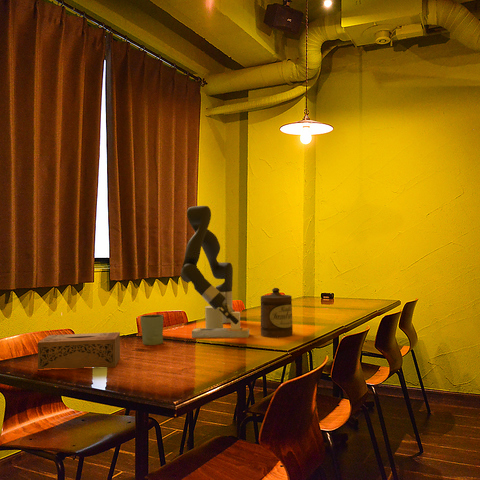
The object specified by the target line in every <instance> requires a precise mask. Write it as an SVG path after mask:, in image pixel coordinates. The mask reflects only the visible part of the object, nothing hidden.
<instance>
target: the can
mask: <svg viewBox="0 0 480 480" xmlns="http://www.w3.org/2000/svg"><path fill="white" fill-rule="evenodd" d="M204 309H205V310H204V311H205V313H204V314H205V315H204V316H205V328H224V323H223V313H222V312H221V311H219V309H220V308H219V307H218V308H217V309H216V310H215V309H214V308H213V307H212V306H211V305H207V306H204Z"/></svg>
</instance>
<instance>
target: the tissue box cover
mask: <svg viewBox="0 0 480 480" xmlns="http://www.w3.org/2000/svg"><path fill="white" fill-rule="evenodd" d="M120 359H121V332H119V331H117V332H95V333H94V332H93V333H90V332H89V333H72V334H68V333H67V334H49V335H47V336H45V337H43V338H42V339H40V340H39V341H38V342H37V370H38V369H44V368H84V367H108V368H116V366H117V365H118V363H119V361H120Z"/></svg>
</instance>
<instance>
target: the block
mask: <svg viewBox="0 0 480 480" xmlns="http://www.w3.org/2000/svg"><path fill="white" fill-rule="evenodd" d="M231 313H232V314H233V316H234V317H235V318H236V319H238V320H239V322H238V323H237V324H234V323H233V322H232V321H231V323H230V328H231V330H240V328H241V319H240V318H241V312H240V311H235V312H231Z"/></svg>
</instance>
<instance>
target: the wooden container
mask: <svg viewBox="0 0 480 480" xmlns="http://www.w3.org/2000/svg"><path fill="white" fill-rule="evenodd" d="M271 292H272V293H271V294H264V295H261V296H260V335H261V336H262V337H265V338H287V337H291V336H292V335H293V333H294V332H293V327H294V326H293V304H292V301H293V297H292V295H290V294H281V293H280V288H278V287H274V288H272V290H271Z"/></svg>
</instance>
